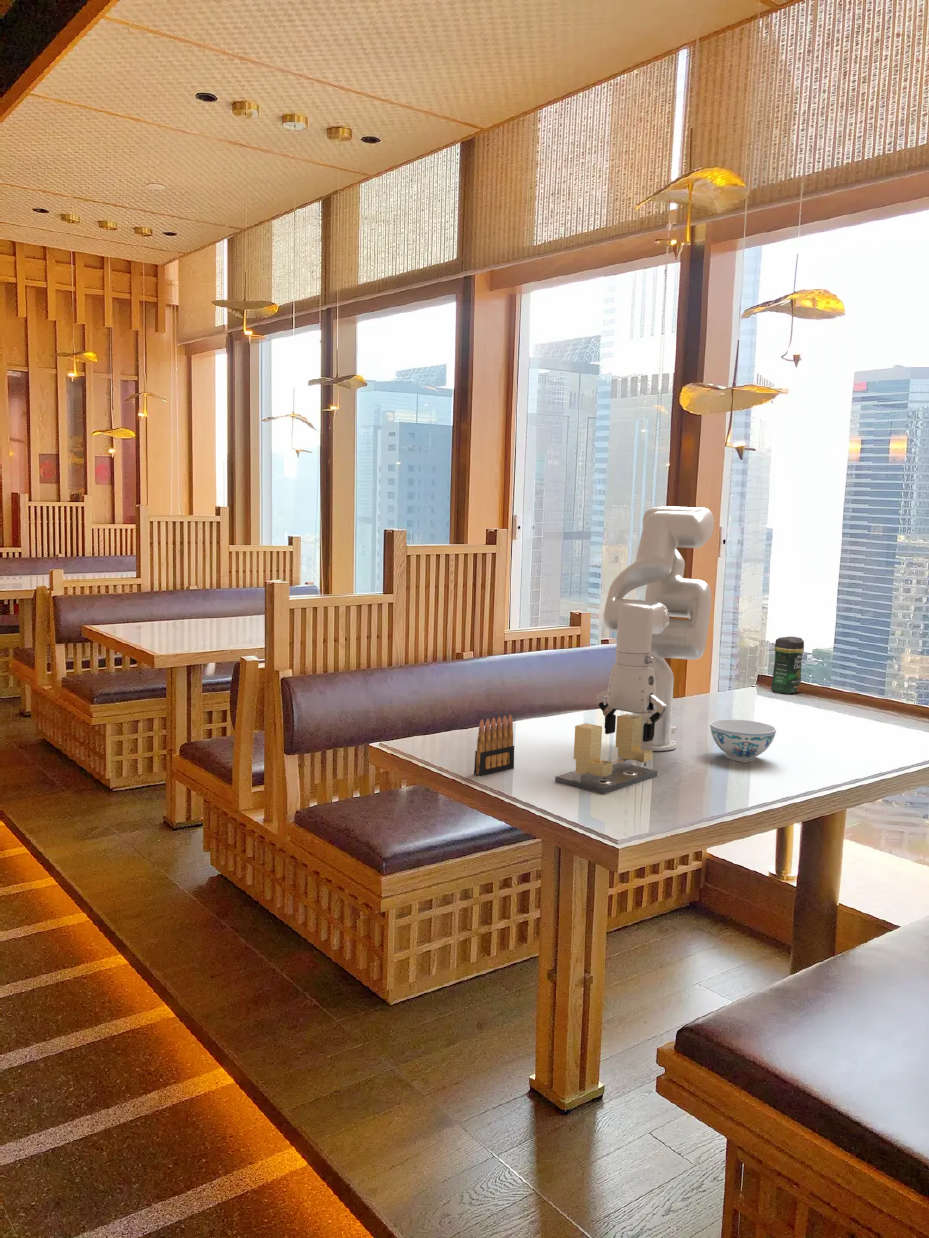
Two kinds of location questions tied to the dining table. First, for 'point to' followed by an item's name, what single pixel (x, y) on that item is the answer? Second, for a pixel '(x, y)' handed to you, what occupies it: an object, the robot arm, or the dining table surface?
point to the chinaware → (742, 738)
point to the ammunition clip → (494, 747)
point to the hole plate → (612, 777)
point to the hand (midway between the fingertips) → (628, 736)
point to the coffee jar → (787, 664)
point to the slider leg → (631, 739)
